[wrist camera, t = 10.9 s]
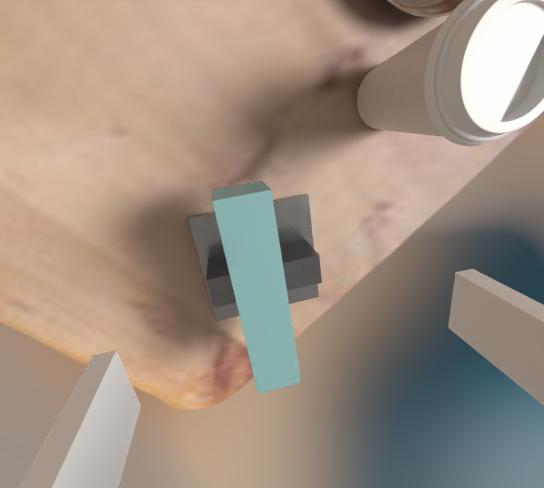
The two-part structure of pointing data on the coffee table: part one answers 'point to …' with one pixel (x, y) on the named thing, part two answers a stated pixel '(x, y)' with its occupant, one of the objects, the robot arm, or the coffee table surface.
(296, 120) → the coffee table surface
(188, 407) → the coffee table surface
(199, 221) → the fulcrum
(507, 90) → the coffee cup
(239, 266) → the bar
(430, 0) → the plant saucer
